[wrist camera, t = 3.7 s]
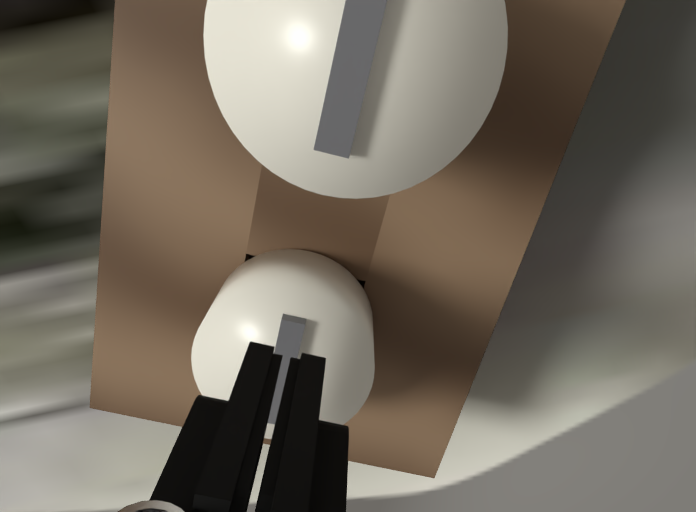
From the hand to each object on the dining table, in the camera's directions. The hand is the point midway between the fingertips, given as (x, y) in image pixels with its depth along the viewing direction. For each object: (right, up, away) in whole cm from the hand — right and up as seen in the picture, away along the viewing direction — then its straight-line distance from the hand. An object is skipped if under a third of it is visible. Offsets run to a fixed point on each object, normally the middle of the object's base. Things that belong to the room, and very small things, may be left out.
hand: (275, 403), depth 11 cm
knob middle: (+2, +9, +3) cm, 10 cm away
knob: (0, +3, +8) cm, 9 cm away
